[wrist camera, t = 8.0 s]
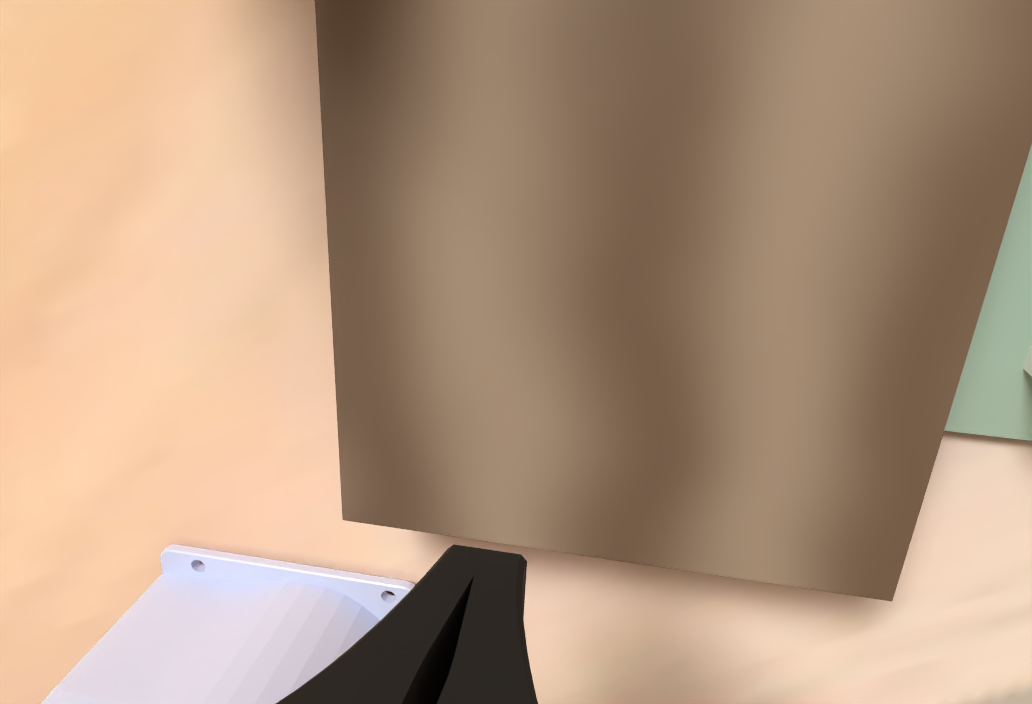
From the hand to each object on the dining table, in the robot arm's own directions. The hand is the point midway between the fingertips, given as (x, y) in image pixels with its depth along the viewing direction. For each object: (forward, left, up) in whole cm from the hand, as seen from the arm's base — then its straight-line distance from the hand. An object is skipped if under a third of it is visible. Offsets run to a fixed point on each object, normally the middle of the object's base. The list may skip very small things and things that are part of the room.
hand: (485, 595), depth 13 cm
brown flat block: (+2, +5, -9) cm, 11 cm away
